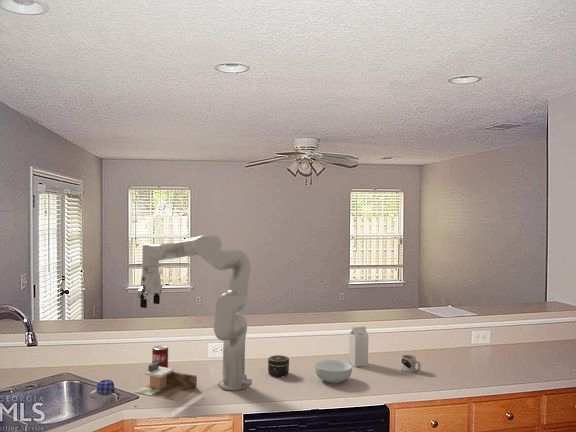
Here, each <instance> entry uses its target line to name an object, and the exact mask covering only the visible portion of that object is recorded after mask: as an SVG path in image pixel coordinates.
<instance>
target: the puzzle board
mask: <svg viewBox="0 0 576 432" xmlns="http://www.w3.org/2000/svg"><path fill="white" fill-rule="evenodd" d="M197 379H198V377H197V375H196V374H195V375H194V374H189V373H183V372H177V371H173V372H171V373H169V374H168V375H167V386H165V387H163V388H161V389H160V390H159V389H154V388H150V383H149V384H148V385H146V386H143V387H142V388H140V389H138V390H136V391H134V392H133V393H135V394H139V395H145V396H150V397H154V398H159V399H165V400H169V401H175V402H177V401H179V400H182V398H184V397H186V396H187V395H188V394H191V393H192V392H193V391H195V390H197V389H198V388H197V385H198V383H197V382H198V380H197Z"/></svg>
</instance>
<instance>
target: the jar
mask: <svg viewBox="0 0 576 432" xmlns="http://www.w3.org/2000/svg"><path fill="white" fill-rule="evenodd" d="M267 363H268V364H267V372H268V375H269V376H270V375H271V377H273V376H275V377H274V378H283V377H282V376H285V377H286V375H287V376H288V374H289V371H290V358H289V357H288V356H286V355H282V354H280V355H279V354H277V355H271V356H269V357H268V359H267Z"/></svg>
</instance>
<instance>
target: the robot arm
mask: <svg viewBox="0 0 576 432" xmlns="http://www.w3.org/2000/svg"><path fill="white" fill-rule="evenodd" d="M222 244H223V242H222V239H221V238H220V236H218V235H216V234H201V235H199V236H194V237H188V238H186V239H185V240H182V241H175V242H167V243H160V244H159V243H157V242H156V243H153V242H148V243H144V244H143V245H142V255H141V257H142V259H141V260H142V262H141V263H142V264H141V270H142V273H141V278H140V288H139V289H138V290H137V295H138V297H139V299H140V300H139V301H140V306H139V307H140V308H142V309H147V307H148V299H147V297H148V296H149V295H150V296H151V295H153V303H152V304H154V305H160V300H161V299H160V296H161V292H162V291H163V285H162V283H161V282H162V280H161V272H160V265H159V264H160V261H166V260H173V259H177V258H184V257H190V258H192V257H200V258H202V259H203V260H204V261H205V262H206V263H208V264H209V265H210V266H211V267H213V268H214V269H217V270H218V271H227V270H232V272H231V274H230V276H229V281H228V282H229V283H228V284H229V285H228V289H227V291H226V292H224V293H222V294H220V295H219V297H218V298H217V300H216V304H215V308H214V309H215V311H214V320H213V333H214V335H215V338H216V339H218V340H219V341H223V344H222V345H223V346H222V380H220V381H219V383H218V386H219V388H220V389H222V390H225V391H241V390H244V389H246V388H247V387H248V386H252V385H253V380H252V378H248V377H247V374H245V372H246V371H245V370H246V369H245V368H246V367H245V366H246V364H245V363H246V361H245V359H246V356H245V355H246V336H247V331H248V322H247V319H246V317H245V316H244V315H243V314H242V313H240V312H241V311H243V310H244V309H245V308H246V306H247V303H248V294H249V293H248V292H249V285H250V283H249V282H250V276H251V275H250V274H251V261H250V259H249V257H248V255H247V254H246V253H245V252H244V251H243V250H240V249H237V248H228V249H222Z"/></svg>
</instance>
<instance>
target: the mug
mask: <svg viewBox="0 0 576 432" xmlns="http://www.w3.org/2000/svg"><path fill="white" fill-rule="evenodd" d="M400 364H401V365H400V366H401V368H400V369H401V371H402V370H403V371H405V372H404V373H407V372H413V373H415V372H417V373H418V372H420V371H421V362H420V361H419V360H417V359H416V356H414V355H412V354H411V355H410V354H403V355H401V363H400ZM416 364H417V367H418V368H416ZM403 371H402V372H403ZM414 371H415V372H414Z"/></svg>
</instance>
